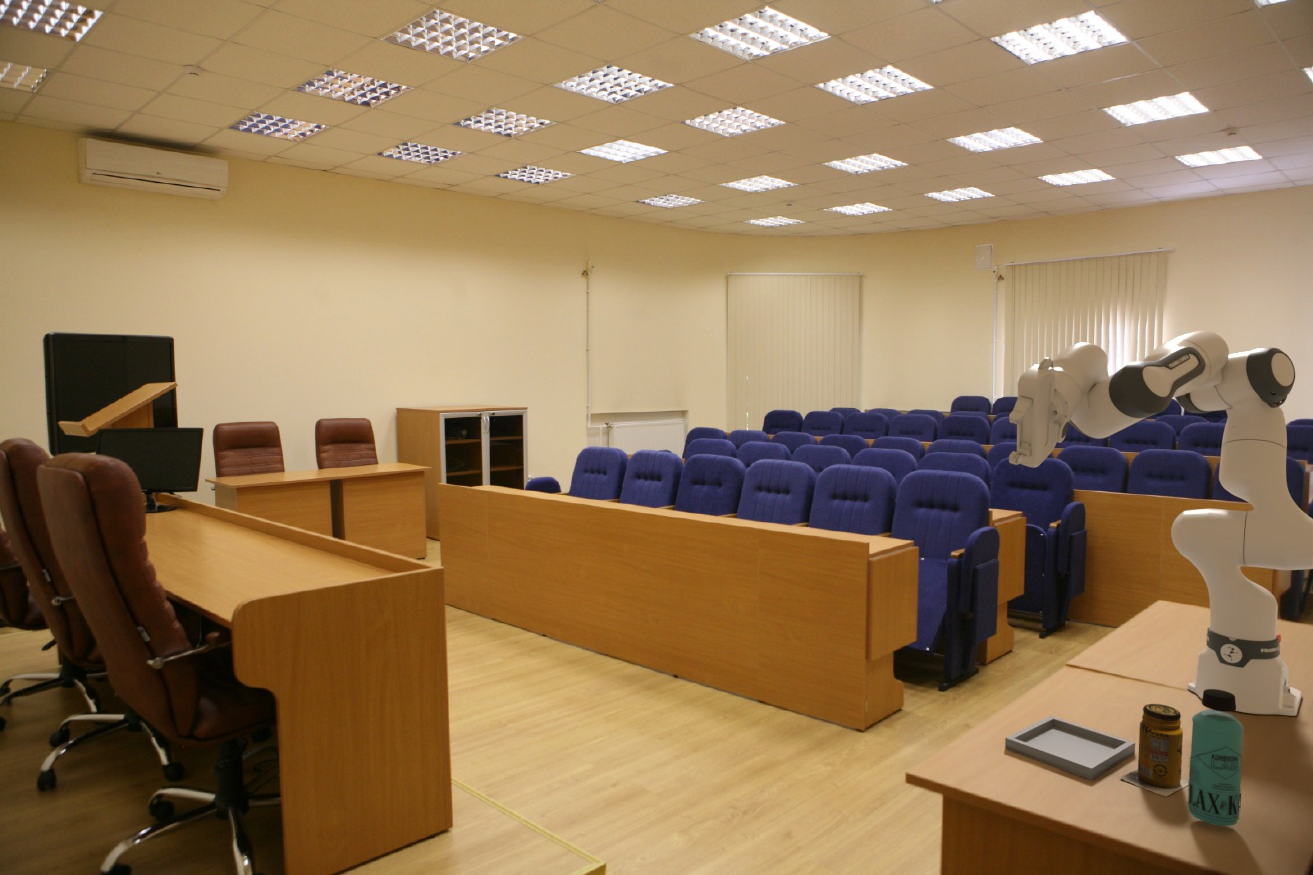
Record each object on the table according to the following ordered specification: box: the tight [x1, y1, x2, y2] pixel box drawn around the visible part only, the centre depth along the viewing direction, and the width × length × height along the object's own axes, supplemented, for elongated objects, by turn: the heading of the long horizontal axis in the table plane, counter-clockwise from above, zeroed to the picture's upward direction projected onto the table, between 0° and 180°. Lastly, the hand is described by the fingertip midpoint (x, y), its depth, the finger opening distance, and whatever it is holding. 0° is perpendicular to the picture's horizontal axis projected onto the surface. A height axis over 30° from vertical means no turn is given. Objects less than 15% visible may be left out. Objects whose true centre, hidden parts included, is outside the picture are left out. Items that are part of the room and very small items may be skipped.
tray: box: [1004, 715, 1136, 781], centre depth 147 cm, size 16×15×2 cm
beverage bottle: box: [1186, 689, 1245, 827], centre depth 122 cm, size 6×7×20 cm
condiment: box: [1119, 703, 1189, 797], centre depth 135 cm, size 7×8×12 cm
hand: (1013, 441), depth 149 cm, fingers open, 8 cm apart
